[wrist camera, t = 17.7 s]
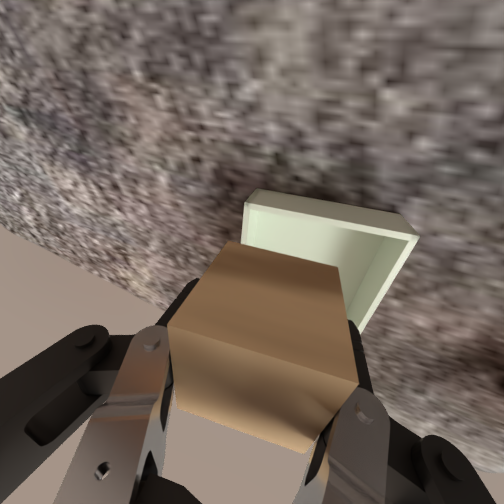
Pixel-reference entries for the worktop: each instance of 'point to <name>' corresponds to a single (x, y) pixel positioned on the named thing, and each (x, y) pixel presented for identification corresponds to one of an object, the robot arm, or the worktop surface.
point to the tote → (333, 242)
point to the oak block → (264, 346)
